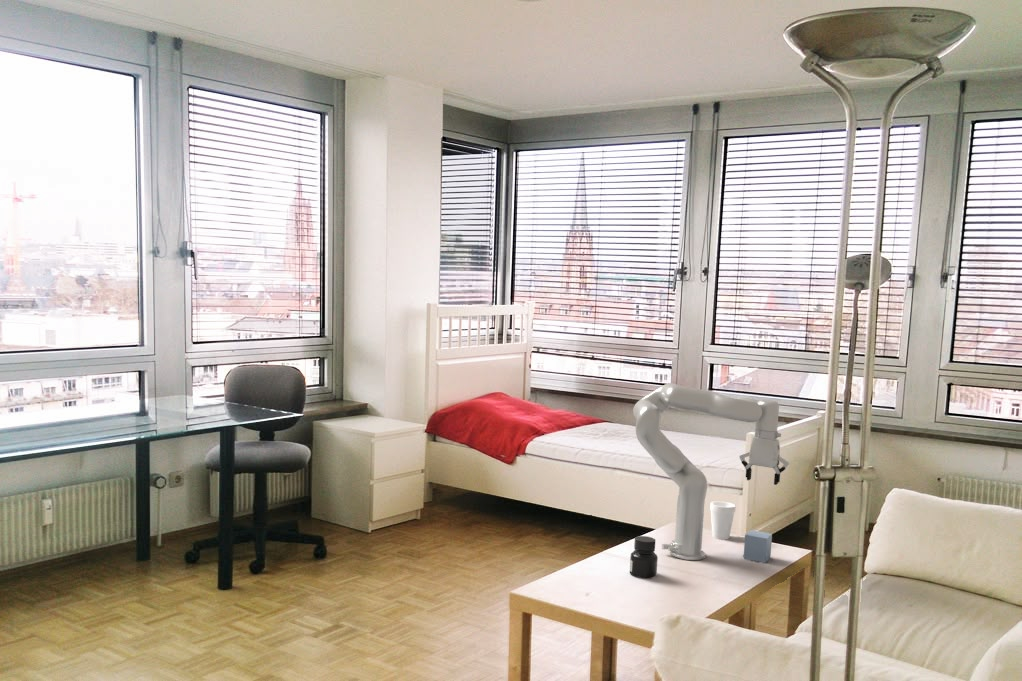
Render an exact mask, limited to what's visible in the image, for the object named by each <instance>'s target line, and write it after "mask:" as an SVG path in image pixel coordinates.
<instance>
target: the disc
mask: <svg viewBox="0 0 1022 681" xmlns="http://www.w3.org/2000/svg"><path fill="white" fill-rule="evenodd" d="M742 557H743V558H744V554H743V555H742ZM746 560H747V561H749V560H750V559H746ZM772 560H773V559H772V558H771V557H770V558H769V559H768V560H767V561H766V563H767V564H768V563H770V562H772ZM753 561H754V563H759V562H760V561H755V560H750V561H749V562H753ZM766 563H765V564H766ZM762 564H764V563H763V562H762Z"/></svg>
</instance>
